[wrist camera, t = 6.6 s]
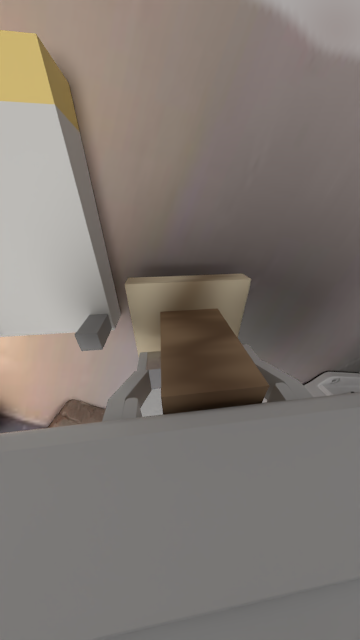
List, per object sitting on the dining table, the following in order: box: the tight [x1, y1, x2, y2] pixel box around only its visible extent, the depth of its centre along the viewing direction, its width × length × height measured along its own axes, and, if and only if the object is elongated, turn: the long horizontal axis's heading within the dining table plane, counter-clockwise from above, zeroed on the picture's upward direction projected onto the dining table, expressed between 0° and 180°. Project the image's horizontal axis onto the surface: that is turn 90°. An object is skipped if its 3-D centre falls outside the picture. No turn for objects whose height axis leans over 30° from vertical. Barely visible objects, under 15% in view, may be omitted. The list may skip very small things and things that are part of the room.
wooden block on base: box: [125, 274, 269, 415], centre depth 11 cm, size 9×9×8 cm
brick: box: [48, 400, 106, 428], centre depth 27 cm, size 17×8×5 cm, turn 140°
